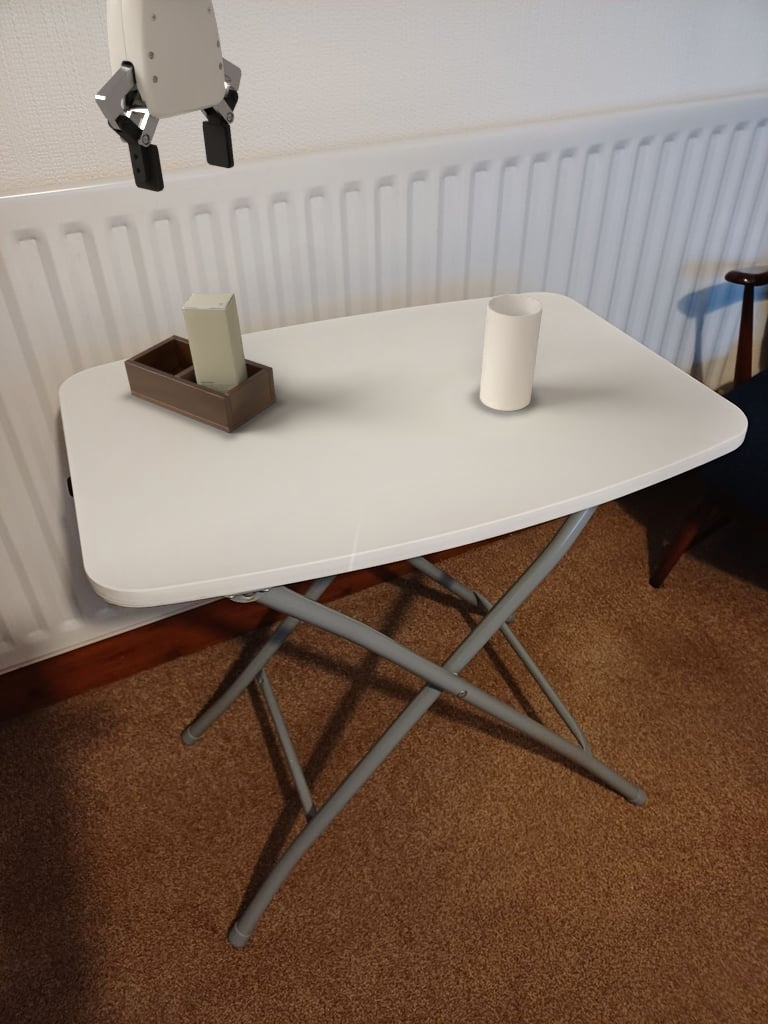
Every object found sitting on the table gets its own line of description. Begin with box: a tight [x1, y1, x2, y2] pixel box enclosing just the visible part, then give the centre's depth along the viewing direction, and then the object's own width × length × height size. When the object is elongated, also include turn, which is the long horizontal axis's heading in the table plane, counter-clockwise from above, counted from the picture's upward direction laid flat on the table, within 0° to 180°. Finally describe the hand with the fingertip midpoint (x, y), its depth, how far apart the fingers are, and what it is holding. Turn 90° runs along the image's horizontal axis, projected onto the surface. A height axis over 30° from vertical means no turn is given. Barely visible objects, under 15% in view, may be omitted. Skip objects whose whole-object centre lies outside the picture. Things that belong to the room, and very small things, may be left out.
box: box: [181, 292, 248, 394], centre depth 90 cm, size 5×4×13 cm
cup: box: [479, 293, 543, 412], centre depth 92 cm, size 6×6×12 cm
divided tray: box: [123, 334, 277, 434], centre depth 94 cm, size 8×16×5 cm, turn 57°
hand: (186, 176), depth 77 cm, fingers open, 9 cm apart
